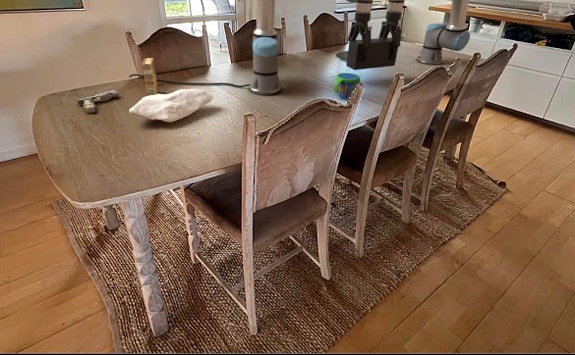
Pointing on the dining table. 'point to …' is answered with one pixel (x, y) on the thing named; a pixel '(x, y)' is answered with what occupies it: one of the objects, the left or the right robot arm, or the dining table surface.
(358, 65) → the box
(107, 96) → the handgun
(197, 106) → the crumpled cloth
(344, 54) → the grey disc with mount
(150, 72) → the candy box
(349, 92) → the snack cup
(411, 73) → the dining table surface
